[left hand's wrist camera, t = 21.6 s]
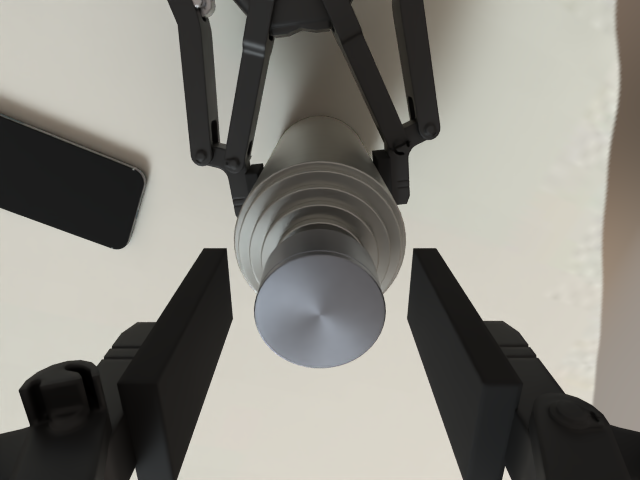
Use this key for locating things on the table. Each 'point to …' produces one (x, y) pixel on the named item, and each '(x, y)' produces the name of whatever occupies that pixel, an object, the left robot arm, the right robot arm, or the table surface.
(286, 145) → the bottle
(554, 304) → the table surface
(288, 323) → the cap
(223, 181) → the table surface
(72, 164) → the smartphone
